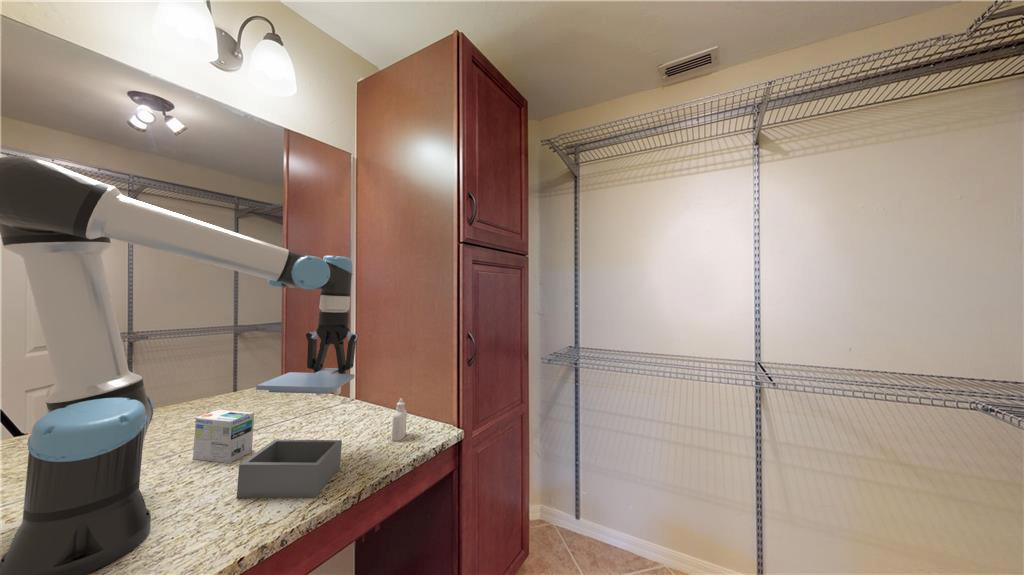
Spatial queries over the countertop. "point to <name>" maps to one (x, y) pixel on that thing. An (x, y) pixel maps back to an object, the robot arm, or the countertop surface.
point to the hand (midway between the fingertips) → (328, 393)
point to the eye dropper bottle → (399, 422)
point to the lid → (307, 382)
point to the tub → (289, 469)
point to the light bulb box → (223, 435)
